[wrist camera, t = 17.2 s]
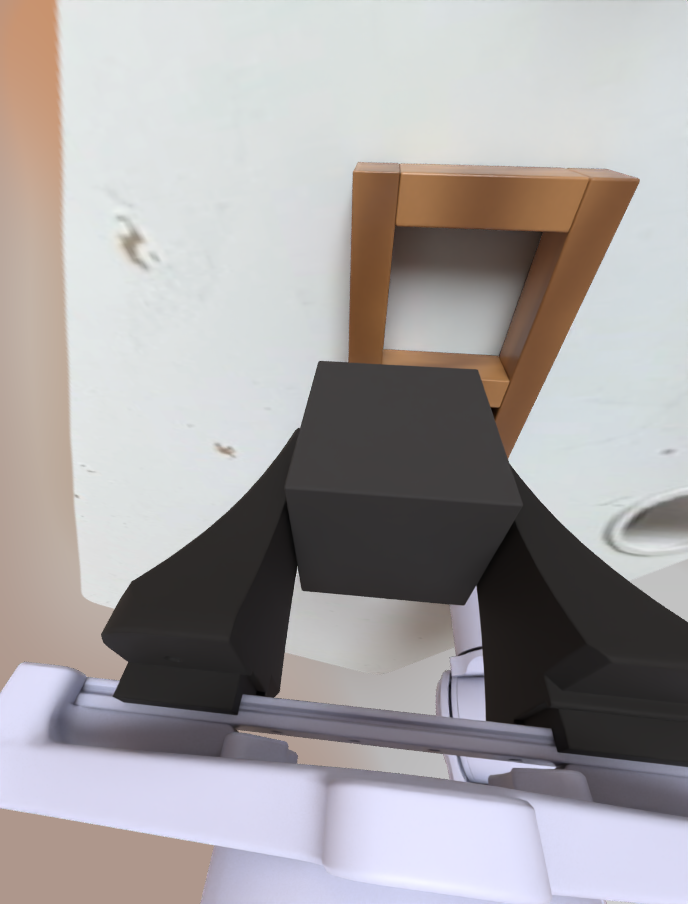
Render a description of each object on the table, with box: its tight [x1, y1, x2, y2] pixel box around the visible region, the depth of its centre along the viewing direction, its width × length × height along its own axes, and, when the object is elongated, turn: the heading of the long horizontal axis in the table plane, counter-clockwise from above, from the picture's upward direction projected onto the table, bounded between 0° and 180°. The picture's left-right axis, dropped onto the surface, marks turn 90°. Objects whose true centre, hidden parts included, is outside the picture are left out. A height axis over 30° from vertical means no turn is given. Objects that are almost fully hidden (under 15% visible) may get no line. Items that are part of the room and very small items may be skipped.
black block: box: [284, 361, 523, 606], centre depth 11 cm, size 5×5×6 cm
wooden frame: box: [348, 162, 640, 458], centre depth 19 cm, size 9×17×2 cm, turn 179°
